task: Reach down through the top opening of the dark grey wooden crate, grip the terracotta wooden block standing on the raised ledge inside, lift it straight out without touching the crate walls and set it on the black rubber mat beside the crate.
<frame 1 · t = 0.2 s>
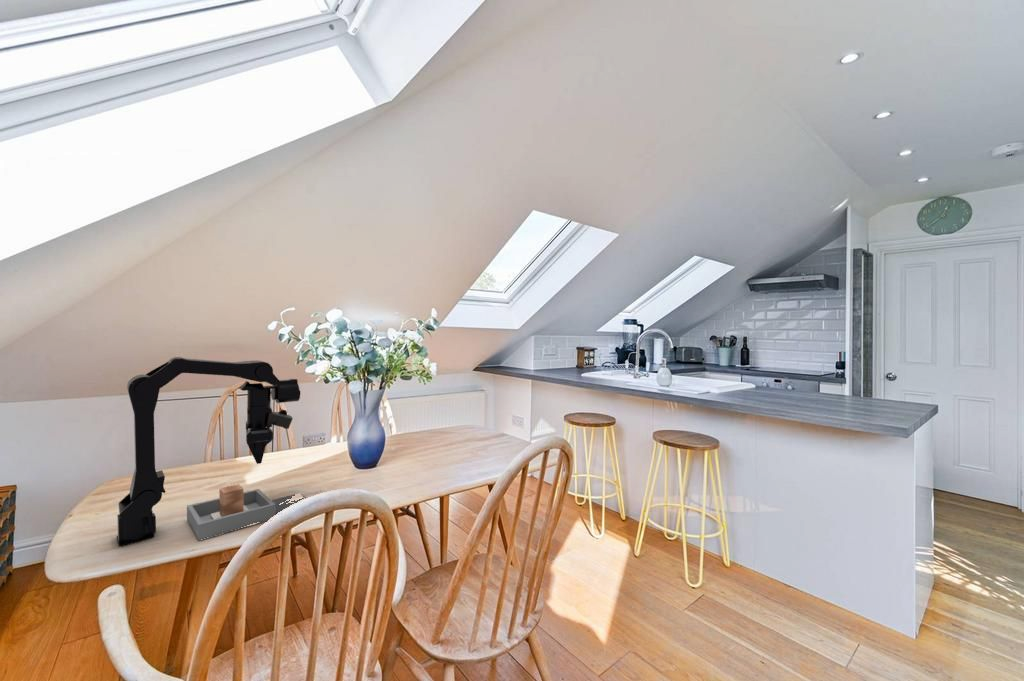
hand: (258, 458, 122), 14 cm above the table, tool pointing down, fingers open, 9 cm apart
mat: (287, 504, 124), on the table
block: (231, 514, 114), point 1 cm above the table, touching crate
crate: (231, 519, 114), on the table
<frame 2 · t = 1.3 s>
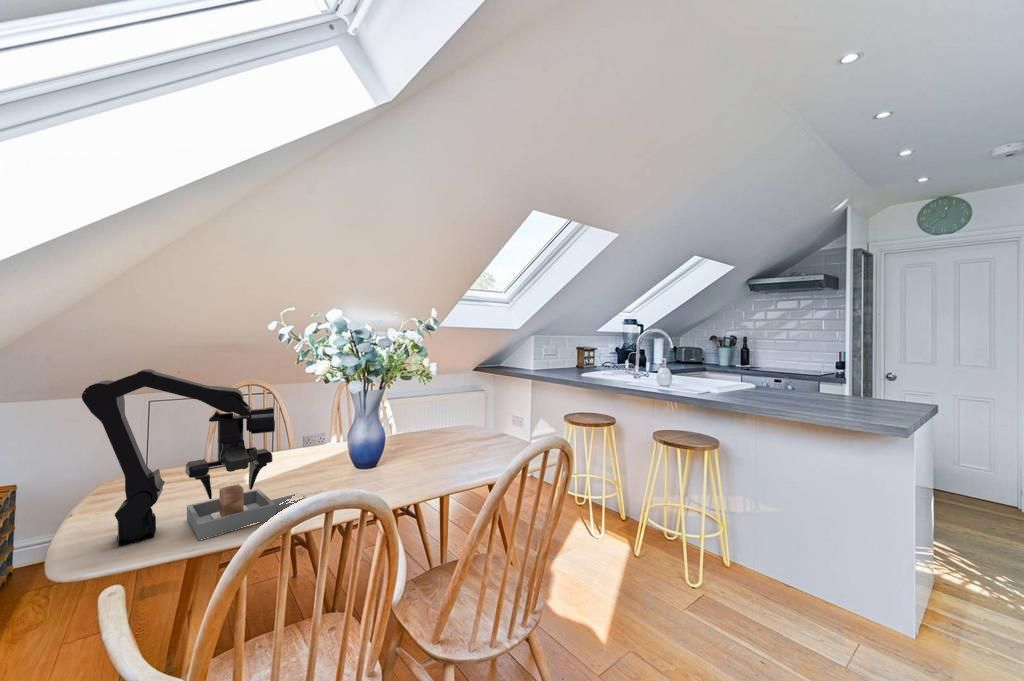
hand: (230, 493, 114), 7 cm above the table, tool pointing down, fingers open, 9 cm apart
nothing on the table moved.
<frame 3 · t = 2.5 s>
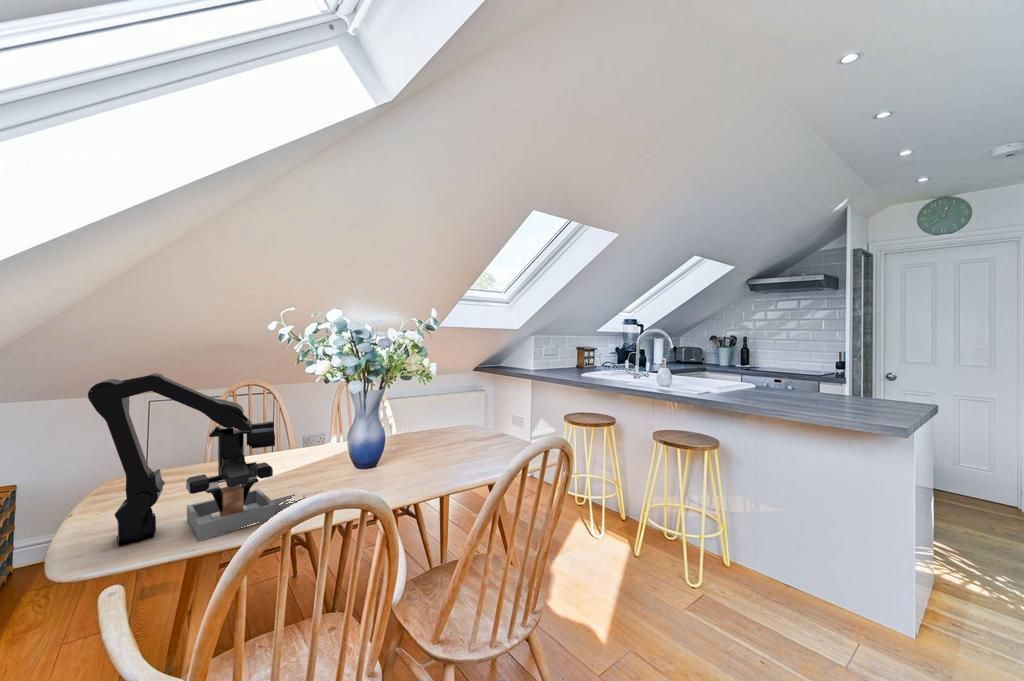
hand: (231, 508, 114), 3 cm above the table, tool pointing down, fingers closed on block, 4 cm apart
block: (231, 514, 114), point 1 cm above the table, touching crate, gripper
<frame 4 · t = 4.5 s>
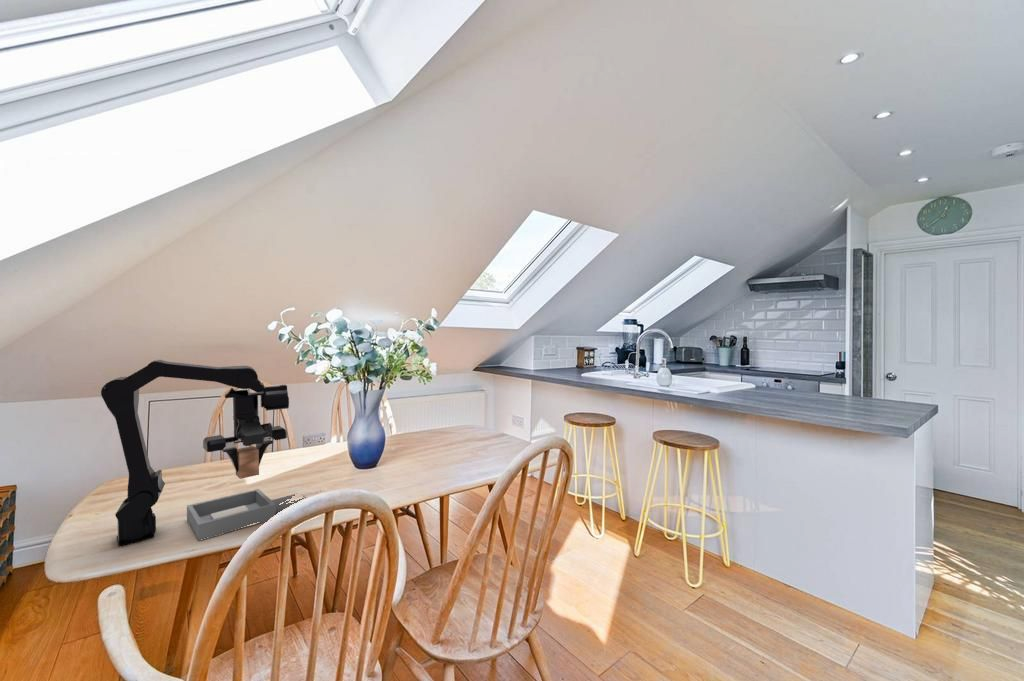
hand: (247, 469, 117), 13 cm above the table, tool pointing down, fingers closed on block, 4 cm apart
block: (247, 474, 117), point 11 cm above the table, touching gripper
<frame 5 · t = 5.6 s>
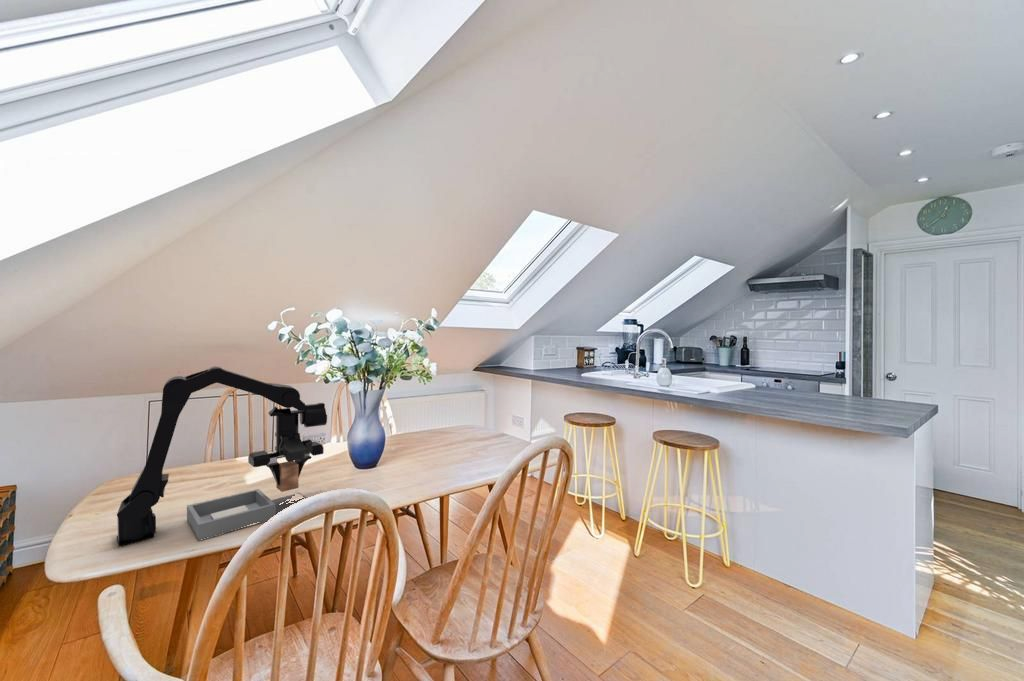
hand: (287, 482, 124), 6 cm above the table, tool pointing down, fingers closed on block, 4 cm apart
block: (287, 487, 124), point 5 cm above the table, touching gripper
when the fingers open (4 cm above the table, at t = 6.5 s): block drops 1 cm, resting on mat.
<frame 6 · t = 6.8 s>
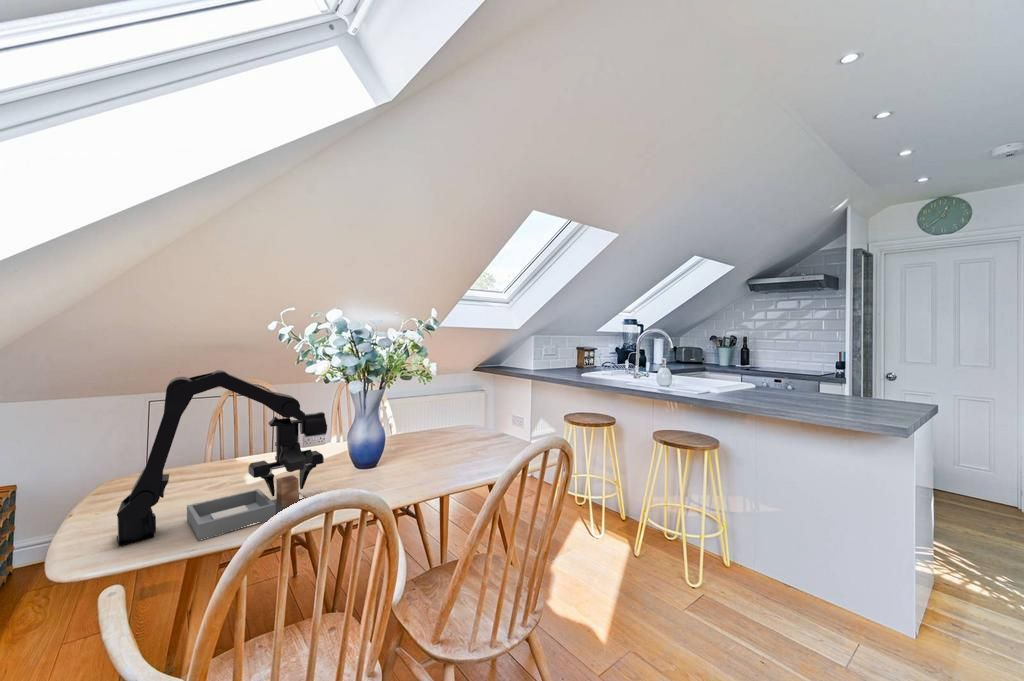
hand: (287, 492, 124), 4 cm above the table, tool pointing down, fingers open, 7 cm apart
block: (287, 502, 124), point 1 cm above the table, touching mat
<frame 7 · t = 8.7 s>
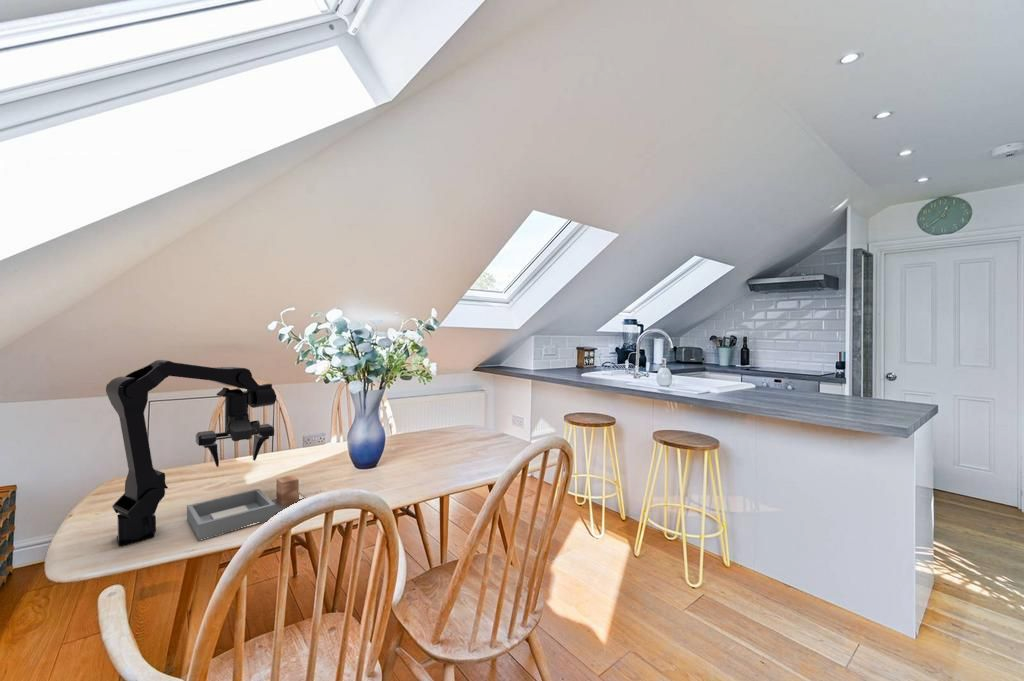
hand: (236, 463, 125), 12 cm above the table, tool pointing down, fingers open, 9 cm apart
nothing on the table moved.
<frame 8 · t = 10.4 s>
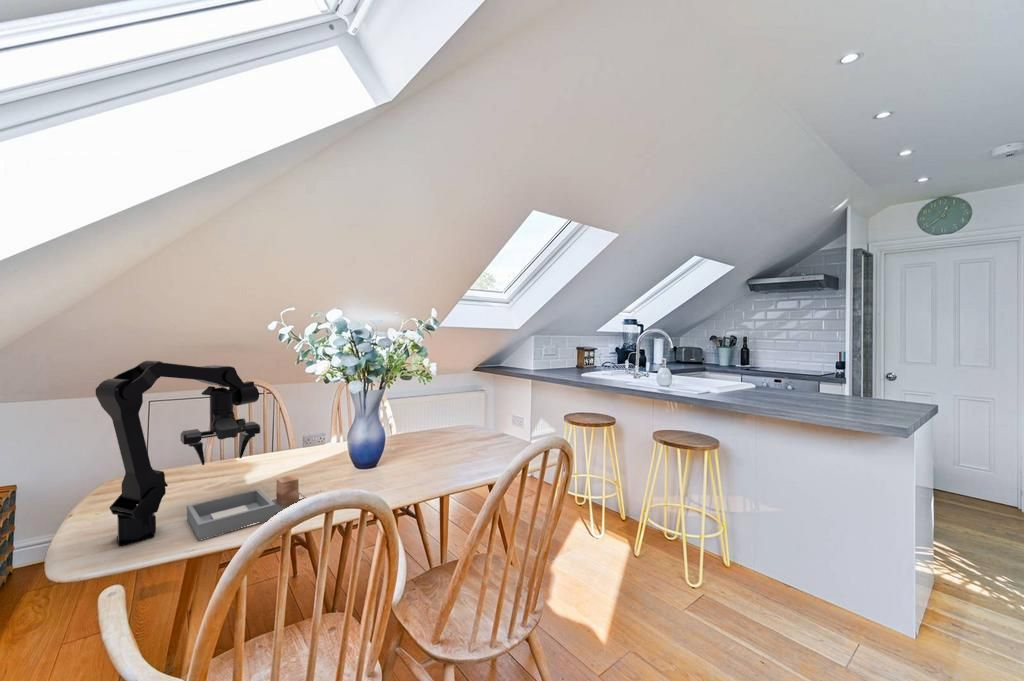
hand: (222, 461, 125), 12 cm above the table, tool pointing down, fingers open, 9 cm apart
nothing on the table moved.
at the end: block inside the target area on the mat (0.1 cm from its centre), point 0.6 cm above the mat's base; block tilted 0°; block touching mat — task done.
